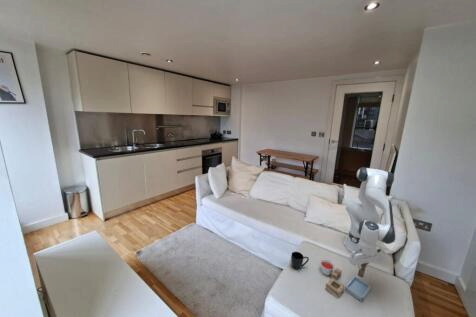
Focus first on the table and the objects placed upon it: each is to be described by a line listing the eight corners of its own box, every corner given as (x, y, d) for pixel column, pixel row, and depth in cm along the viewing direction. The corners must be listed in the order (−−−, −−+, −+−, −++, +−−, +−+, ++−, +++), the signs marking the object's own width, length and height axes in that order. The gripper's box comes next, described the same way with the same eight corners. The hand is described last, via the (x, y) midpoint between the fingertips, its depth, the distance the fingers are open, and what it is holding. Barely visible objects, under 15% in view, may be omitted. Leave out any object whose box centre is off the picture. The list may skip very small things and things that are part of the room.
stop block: (336, 273, 136) (337, 267, 135) (340, 276, 134) (341, 270, 133) (330, 279, 131) (331, 273, 130) (335, 282, 129) (336, 276, 128)
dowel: (359, 272, 123) (362, 259, 121) (364, 276, 121) (367, 262, 118) (356, 274, 122) (359, 261, 119) (361, 278, 119) (364, 264, 117)
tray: (353, 278, 132) (354, 275, 131) (370, 289, 125) (371, 285, 124) (344, 290, 124) (345, 286, 123) (361, 302, 116) (362, 298, 115)
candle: (328, 279, 132) (329, 271, 130) (316, 270, 139) (317, 262, 137) (335, 273, 136) (337, 265, 135) (324, 264, 144) (325, 257, 142)
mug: (308, 272, 136) (310, 261, 134) (290, 270, 138) (292, 258, 136) (306, 263, 144) (307, 253, 142) (289, 261, 146) (291, 250, 144)
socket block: (331, 282, 129) (332, 277, 128) (343, 291, 123) (344, 286, 122) (325, 289, 124) (326, 283, 123) (337, 298, 118) (338, 293, 117)
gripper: (357, 255, 111) (353, 275, 114) (384, 248, 116) (379, 267, 120) (348, 247, 116) (344, 266, 120) (374, 242, 122) (370, 260, 126)
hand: (362, 267), depth 120 cm, fingers closed on dowel, 3 cm apart
